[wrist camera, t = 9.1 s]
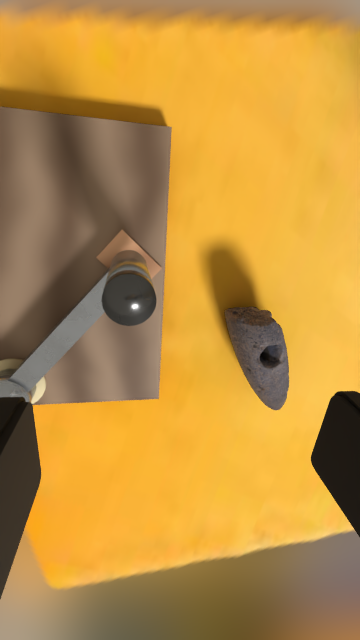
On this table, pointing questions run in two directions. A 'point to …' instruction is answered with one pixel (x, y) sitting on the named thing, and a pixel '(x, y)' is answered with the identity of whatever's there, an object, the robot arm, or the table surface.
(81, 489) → the table surface
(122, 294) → the press lever
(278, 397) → the perforated stone tool
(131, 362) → the board
